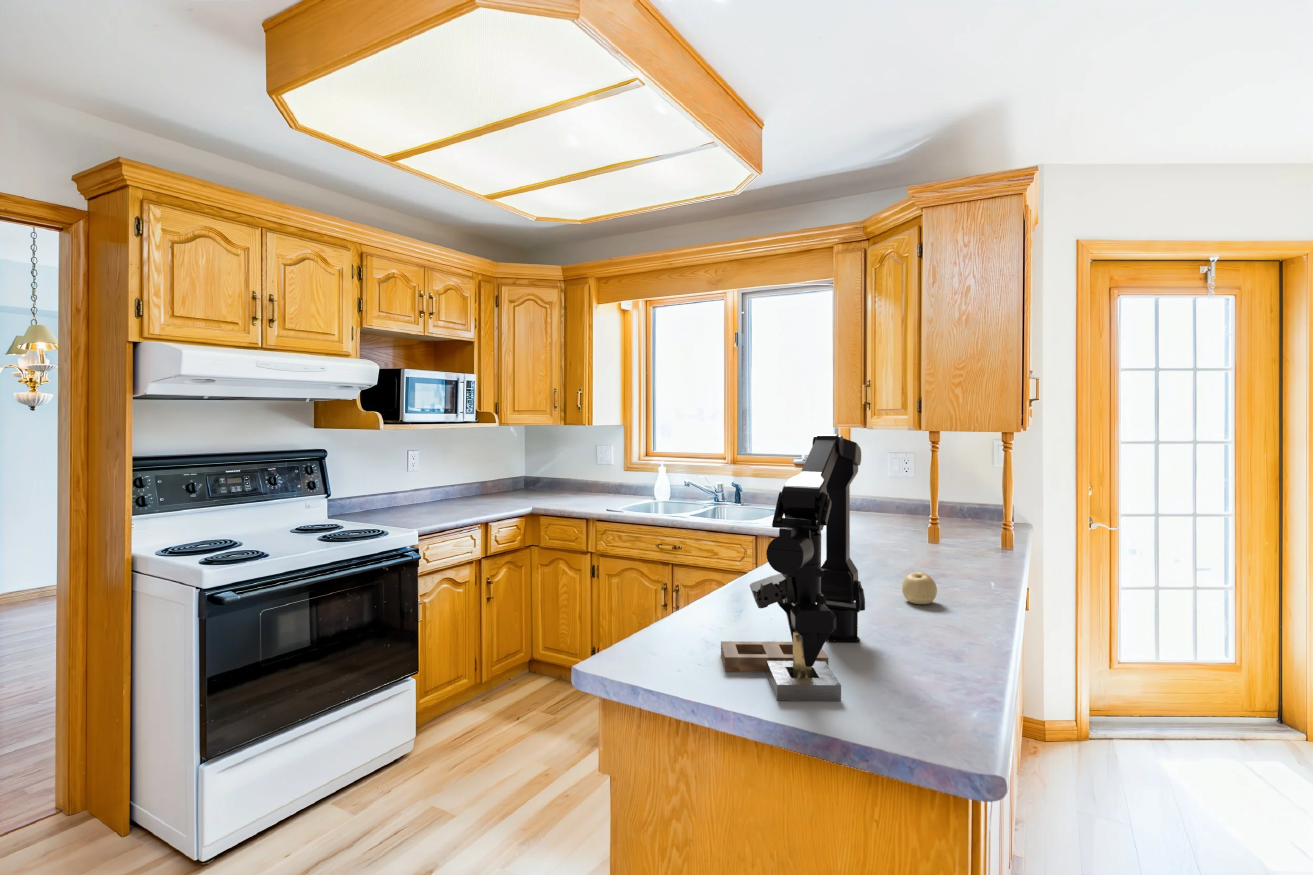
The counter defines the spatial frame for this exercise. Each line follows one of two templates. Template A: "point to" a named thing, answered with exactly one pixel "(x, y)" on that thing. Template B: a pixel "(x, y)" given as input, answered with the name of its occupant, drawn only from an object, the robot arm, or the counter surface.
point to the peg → (799, 659)
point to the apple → (919, 588)
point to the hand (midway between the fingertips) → (802, 655)
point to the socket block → (803, 683)
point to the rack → (757, 655)
